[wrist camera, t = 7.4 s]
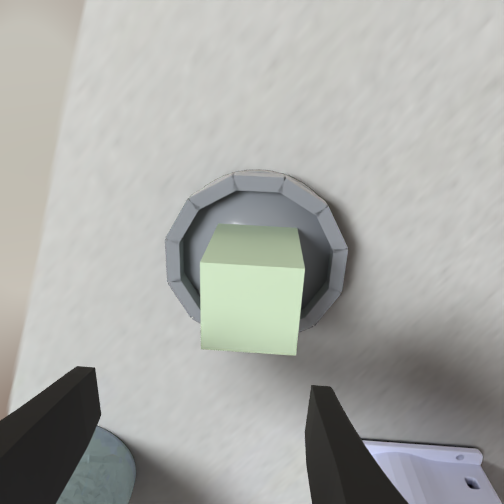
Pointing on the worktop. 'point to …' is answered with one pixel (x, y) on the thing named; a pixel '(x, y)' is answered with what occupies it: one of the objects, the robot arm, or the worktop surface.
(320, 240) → the dish
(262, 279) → the block
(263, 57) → the worktop surface
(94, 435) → the teal plant pot
